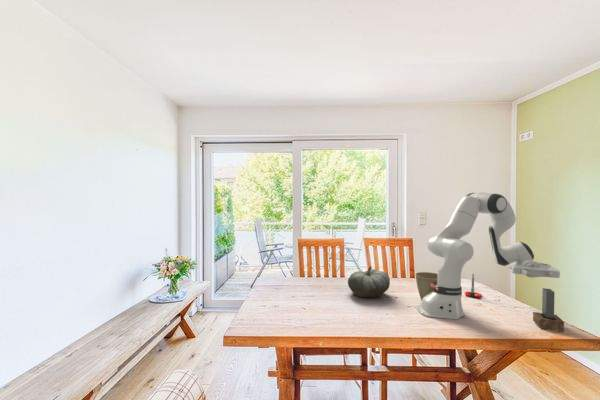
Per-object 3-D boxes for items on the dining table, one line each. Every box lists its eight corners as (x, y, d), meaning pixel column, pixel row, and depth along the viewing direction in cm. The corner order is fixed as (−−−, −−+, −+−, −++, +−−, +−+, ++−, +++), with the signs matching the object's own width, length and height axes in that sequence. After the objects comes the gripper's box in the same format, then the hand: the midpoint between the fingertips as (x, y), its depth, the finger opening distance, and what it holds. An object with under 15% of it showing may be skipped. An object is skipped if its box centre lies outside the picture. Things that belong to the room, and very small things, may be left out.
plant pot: (447, 309, 163) (447, 279, 163) (417, 307, 166) (418, 278, 166) (440, 299, 178) (440, 272, 177) (413, 297, 181) (413, 271, 180)
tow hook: (465, 292, 192) (463, 296, 184) (466, 270, 192) (464, 273, 184) (482, 295, 187) (481, 299, 179) (482, 272, 187) (481, 275, 179)
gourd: (400, 294, 179) (394, 265, 179) (365, 307, 170) (359, 276, 170) (375, 286, 202) (370, 261, 202) (343, 297, 193) (338, 270, 193)
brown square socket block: (539, 328, 139) (539, 318, 139) (533, 321, 148) (533, 311, 148) (564, 332, 136) (564, 322, 136) (556, 324, 144) (556, 314, 144)
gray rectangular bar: (545, 325, 140) (546, 291, 140) (541, 321, 145) (542, 288, 145) (553, 326, 139) (554, 292, 139) (549, 322, 144) (550, 289, 143)
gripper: (508, 261, 169) (514, 266, 157) (553, 265, 161) (564, 270, 149) (507, 272, 169) (514, 278, 157) (553, 276, 162) (564, 283, 149)
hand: (539, 274), depth 153 cm, fingers open, 8 cm apart
